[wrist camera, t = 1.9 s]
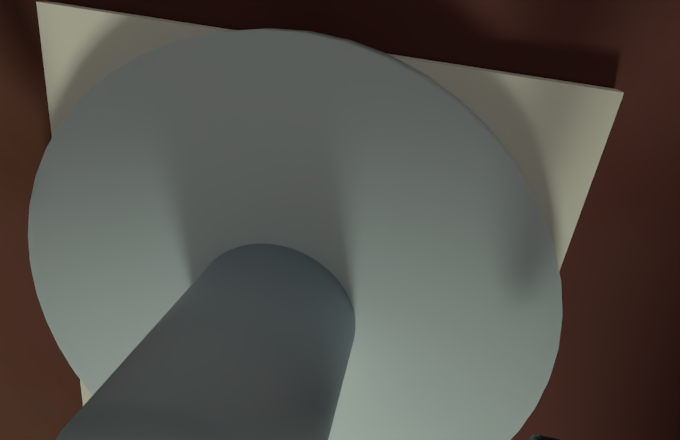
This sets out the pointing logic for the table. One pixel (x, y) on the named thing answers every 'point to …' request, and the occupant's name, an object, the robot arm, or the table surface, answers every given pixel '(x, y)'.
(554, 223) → the mat
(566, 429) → the table surface
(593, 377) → the table surface
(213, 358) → the lid
